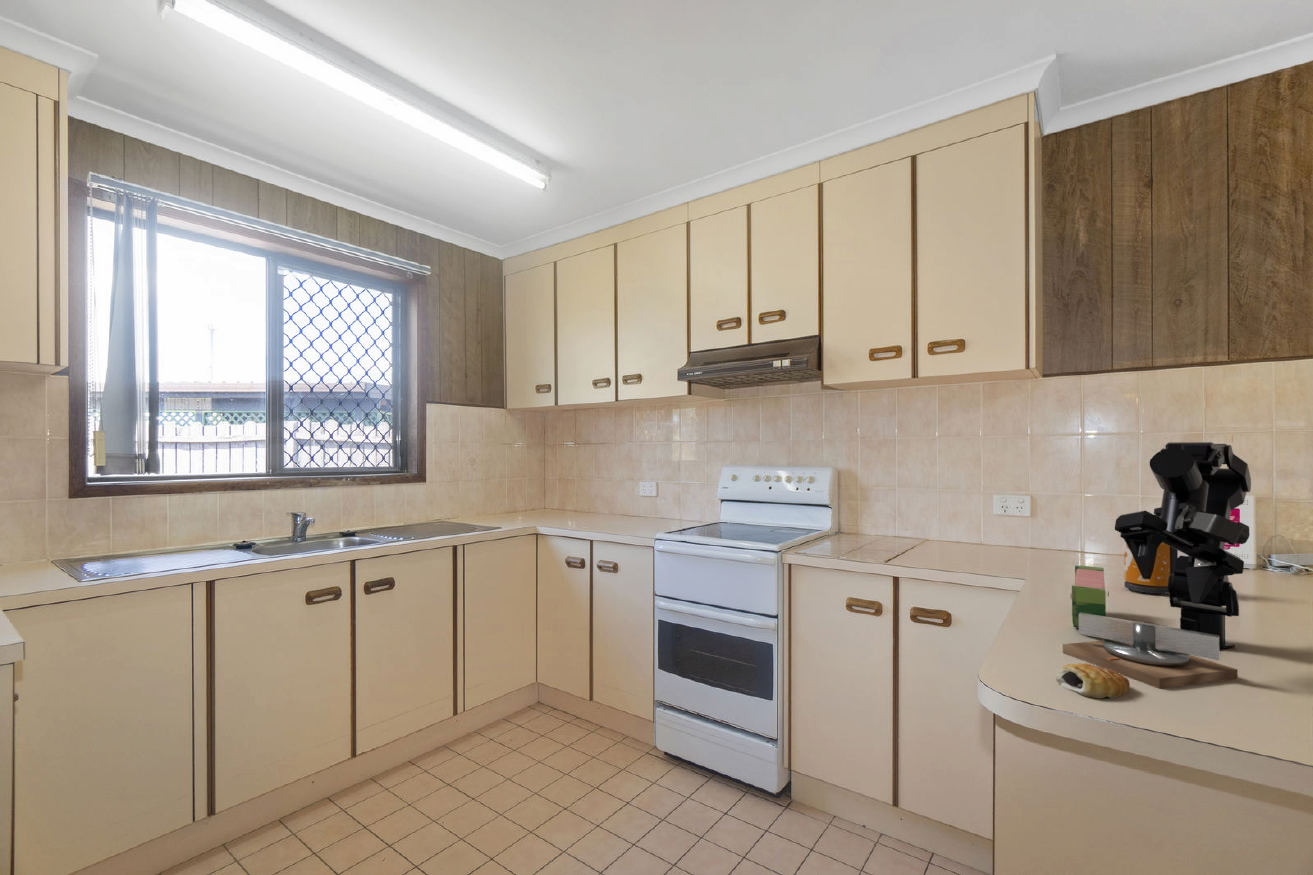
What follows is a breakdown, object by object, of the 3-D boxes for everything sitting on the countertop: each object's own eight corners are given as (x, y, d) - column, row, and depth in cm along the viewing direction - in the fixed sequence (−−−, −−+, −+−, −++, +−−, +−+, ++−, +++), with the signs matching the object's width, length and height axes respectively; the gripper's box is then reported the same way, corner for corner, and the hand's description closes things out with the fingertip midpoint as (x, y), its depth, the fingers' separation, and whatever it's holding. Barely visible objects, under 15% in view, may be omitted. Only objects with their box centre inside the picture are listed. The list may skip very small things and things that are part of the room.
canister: (1122, 586, 157) (1121, 510, 157) (1176, 591, 151) (1176, 512, 152) (1127, 593, 149) (1126, 513, 150) (1185, 599, 144) (1184, 515, 144)
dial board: (1133, 645, 109) (1133, 636, 109) (1237, 679, 93) (1237, 668, 93) (1062, 652, 105) (1062, 643, 105) (1159, 688, 89) (1159, 677, 89)
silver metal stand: (1121, 636, 108) (1121, 609, 108) (1226, 669, 92) (1226, 636, 93) (1073, 641, 106) (1073, 612, 106) (1172, 675, 90) (1172, 641, 90)
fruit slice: (1073, 609, 134) (1072, 564, 134) (1108, 613, 130) (1107, 568, 130) (1069, 638, 113) (1068, 585, 113) (1110, 645, 109) (1110, 590, 109)
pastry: (1102, 679, 93) (1102, 655, 93) (1145, 698, 87) (1145, 671, 87) (1051, 684, 91) (1051, 659, 91) (1091, 703, 85) (1091, 676, 85)
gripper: (1181, 471, 95) (1168, 561, 90) (1284, 523, 95) (1277, 616, 90) (1119, 486, 105) (1104, 567, 100) (1212, 533, 106) (1202, 616, 101)
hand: (1171, 591), depth 98 cm, fingers open, 9 cm apart
